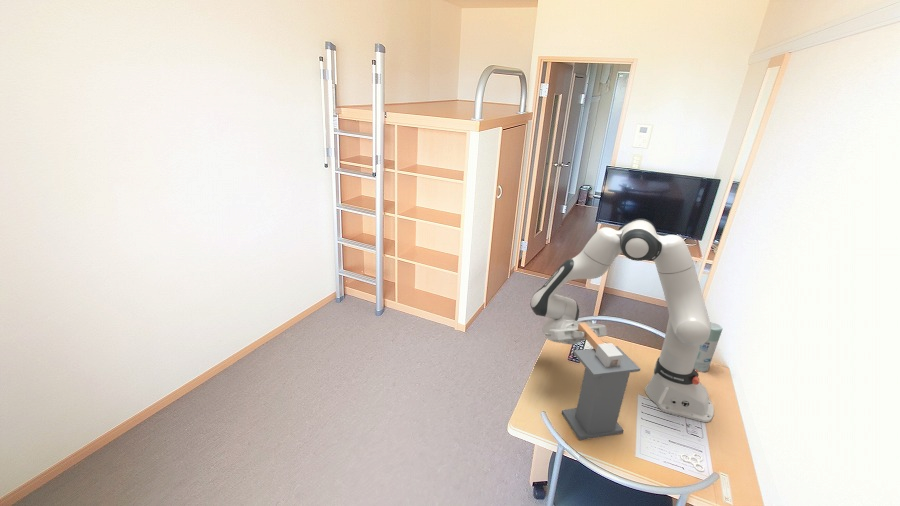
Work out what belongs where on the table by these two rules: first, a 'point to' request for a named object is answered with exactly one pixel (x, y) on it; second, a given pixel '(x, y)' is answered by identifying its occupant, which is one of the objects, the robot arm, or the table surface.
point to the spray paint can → (708, 349)
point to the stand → (599, 396)
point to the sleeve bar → (602, 348)
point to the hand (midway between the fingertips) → (589, 333)
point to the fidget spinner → (694, 462)
